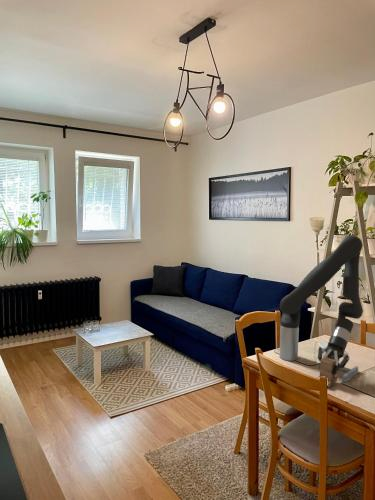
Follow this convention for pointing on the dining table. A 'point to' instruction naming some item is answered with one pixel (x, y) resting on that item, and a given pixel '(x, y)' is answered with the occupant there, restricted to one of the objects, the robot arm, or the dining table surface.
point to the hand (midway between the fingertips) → (326, 372)
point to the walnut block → (327, 370)
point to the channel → (348, 373)
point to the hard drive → (323, 345)
